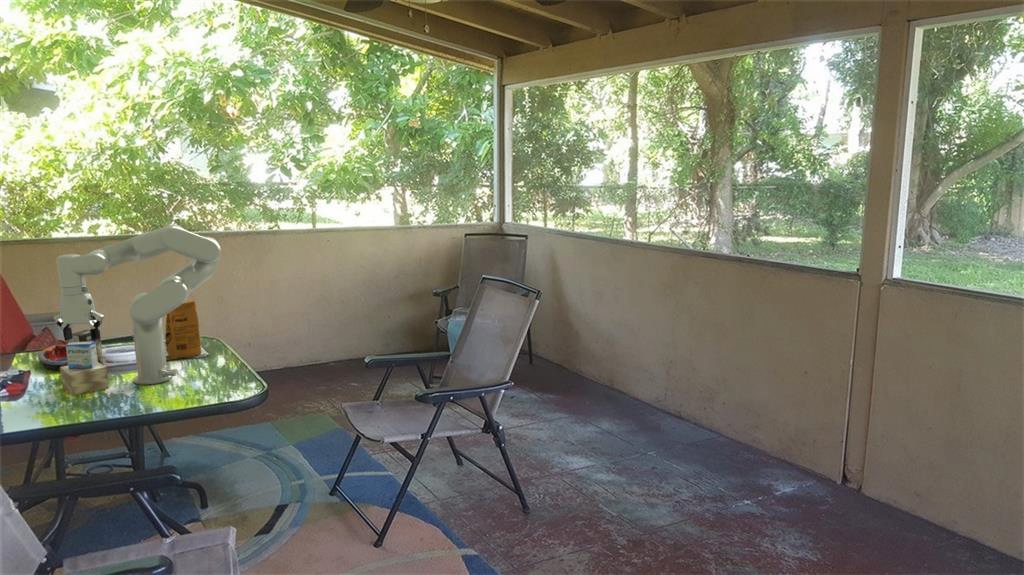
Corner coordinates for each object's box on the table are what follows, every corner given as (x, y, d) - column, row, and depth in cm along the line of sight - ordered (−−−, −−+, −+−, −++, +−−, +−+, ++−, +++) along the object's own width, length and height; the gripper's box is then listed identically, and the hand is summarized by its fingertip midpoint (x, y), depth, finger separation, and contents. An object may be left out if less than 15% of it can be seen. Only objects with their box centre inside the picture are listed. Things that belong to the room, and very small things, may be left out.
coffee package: (165, 355, 286) (160, 302, 282) (198, 350, 293) (193, 298, 289) (170, 360, 278) (164, 306, 274) (203, 355, 285) (198, 302, 281)
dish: (41, 376, 259) (39, 363, 258) (37, 358, 284) (35, 346, 283) (90, 368, 268) (88, 356, 267) (82, 351, 293) (80, 340, 292)
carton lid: (95, 361, 251) (95, 360, 251) (107, 368, 243) (106, 366, 243) (59, 368, 243) (59, 366, 243) (70, 376, 235) (70, 374, 235)
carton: (97, 380, 252) (95, 362, 251) (108, 388, 244) (106, 368, 243) (62, 388, 245) (60, 368, 243) (73, 395, 236) (70, 375, 235)
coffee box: (86, 378, 255) (81, 335, 252) (71, 377, 257) (65, 334, 254) (105, 371, 264) (100, 329, 261) (90, 370, 265) (85, 328, 262)
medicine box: (68, 369, 240) (64, 345, 239) (74, 365, 245) (71, 341, 243) (92, 368, 241) (89, 344, 240) (98, 364, 246) (95, 340, 244)
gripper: (105, 288, 241) (112, 336, 245) (58, 289, 243) (66, 337, 246) (91, 292, 234) (98, 342, 237) (42, 293, 235) (50, 342, 239)
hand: (82, 339), depth 242 cm, fingers open, 9 cm apart
